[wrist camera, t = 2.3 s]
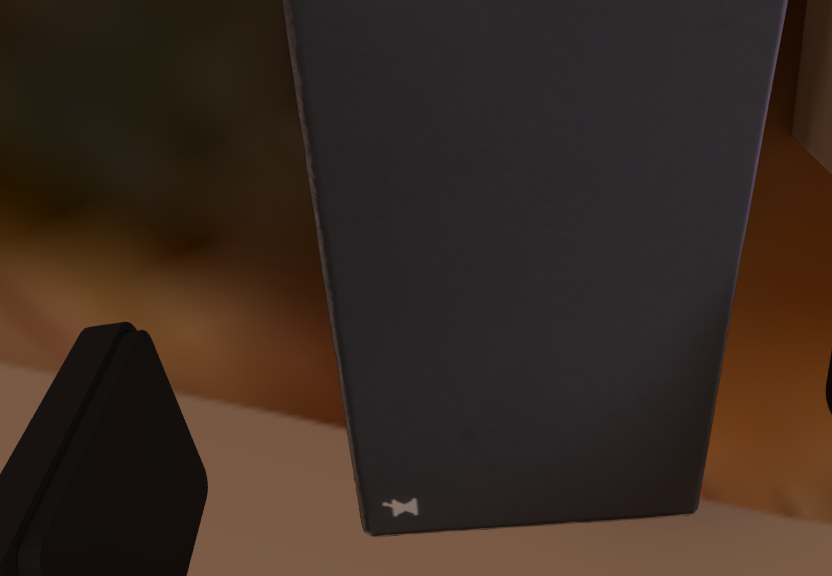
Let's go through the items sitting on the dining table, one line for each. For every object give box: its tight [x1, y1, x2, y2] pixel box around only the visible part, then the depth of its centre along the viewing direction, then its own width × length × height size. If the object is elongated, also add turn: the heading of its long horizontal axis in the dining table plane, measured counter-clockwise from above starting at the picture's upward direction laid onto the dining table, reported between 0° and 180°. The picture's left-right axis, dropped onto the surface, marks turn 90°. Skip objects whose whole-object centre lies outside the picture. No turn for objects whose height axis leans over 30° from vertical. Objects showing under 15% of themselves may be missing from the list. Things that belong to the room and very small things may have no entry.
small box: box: [281, 0, 788, 537], centre depth 16 cm, size 11×6×10 cm, turn 4°
